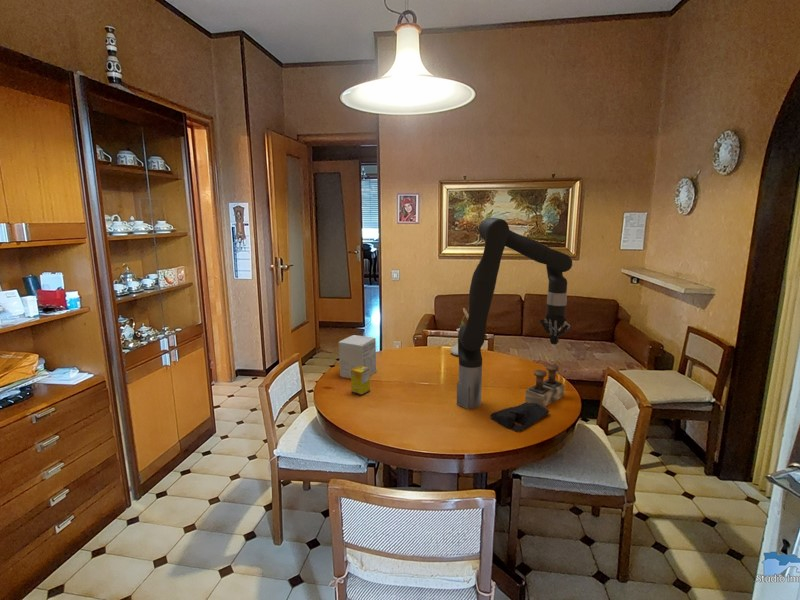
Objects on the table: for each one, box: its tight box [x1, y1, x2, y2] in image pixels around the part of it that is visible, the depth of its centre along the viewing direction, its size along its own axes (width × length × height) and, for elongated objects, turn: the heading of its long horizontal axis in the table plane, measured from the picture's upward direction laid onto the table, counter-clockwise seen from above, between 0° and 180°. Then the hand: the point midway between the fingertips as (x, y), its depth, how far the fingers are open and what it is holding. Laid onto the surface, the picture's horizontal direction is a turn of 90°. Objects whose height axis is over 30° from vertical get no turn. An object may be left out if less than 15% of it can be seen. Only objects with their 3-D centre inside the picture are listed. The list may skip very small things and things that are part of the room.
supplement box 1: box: [338, 334, 377, 379], centre depth 209 cm, size 13×13×18 cm
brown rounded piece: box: [533, 369, 548, 388], centre depth 176 cm, size 5×5×6 cm
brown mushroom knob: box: [545, 364, 560, 383], centre depth 182 cm, size 5×5×6 cm
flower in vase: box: [449, 307, 469, 356], centre depth 235 cm, size 13×11×25 cm
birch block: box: [524, 379, 566, 408], centre depth 180 cm, size 16×8×6 cm, turn 130°
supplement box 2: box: [350, 366, 371, 397], centre depth 189 cm, size 6×6×11 cm
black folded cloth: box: [490, 402, 550, 433], centre depth 165 cm, size 15×22×5 cm
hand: (554, 343), depth 179 cm, fingers closed
